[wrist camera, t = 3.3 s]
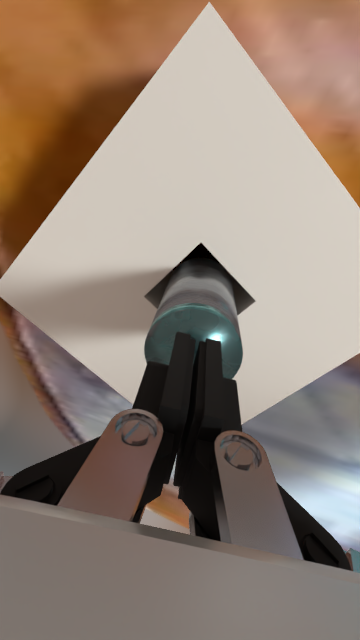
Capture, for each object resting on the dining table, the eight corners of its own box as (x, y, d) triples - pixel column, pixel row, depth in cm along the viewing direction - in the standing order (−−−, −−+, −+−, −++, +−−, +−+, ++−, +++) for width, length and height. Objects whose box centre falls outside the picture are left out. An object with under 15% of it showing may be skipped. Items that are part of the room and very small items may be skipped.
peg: (201, 243, 18) (194, 288, 11) (245, 291, 19) (263, 358, 12) (155, 287, 19) (124, 350, 13) (198, 329, 20) (191, 408, 14)
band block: (210, 64, 19) (209, 1, 12) (366, 267, 24) (432, 308, 17) (52, 257, 26) (-8, 290, 19) (198, 387, 31) (193, 453, 23)
